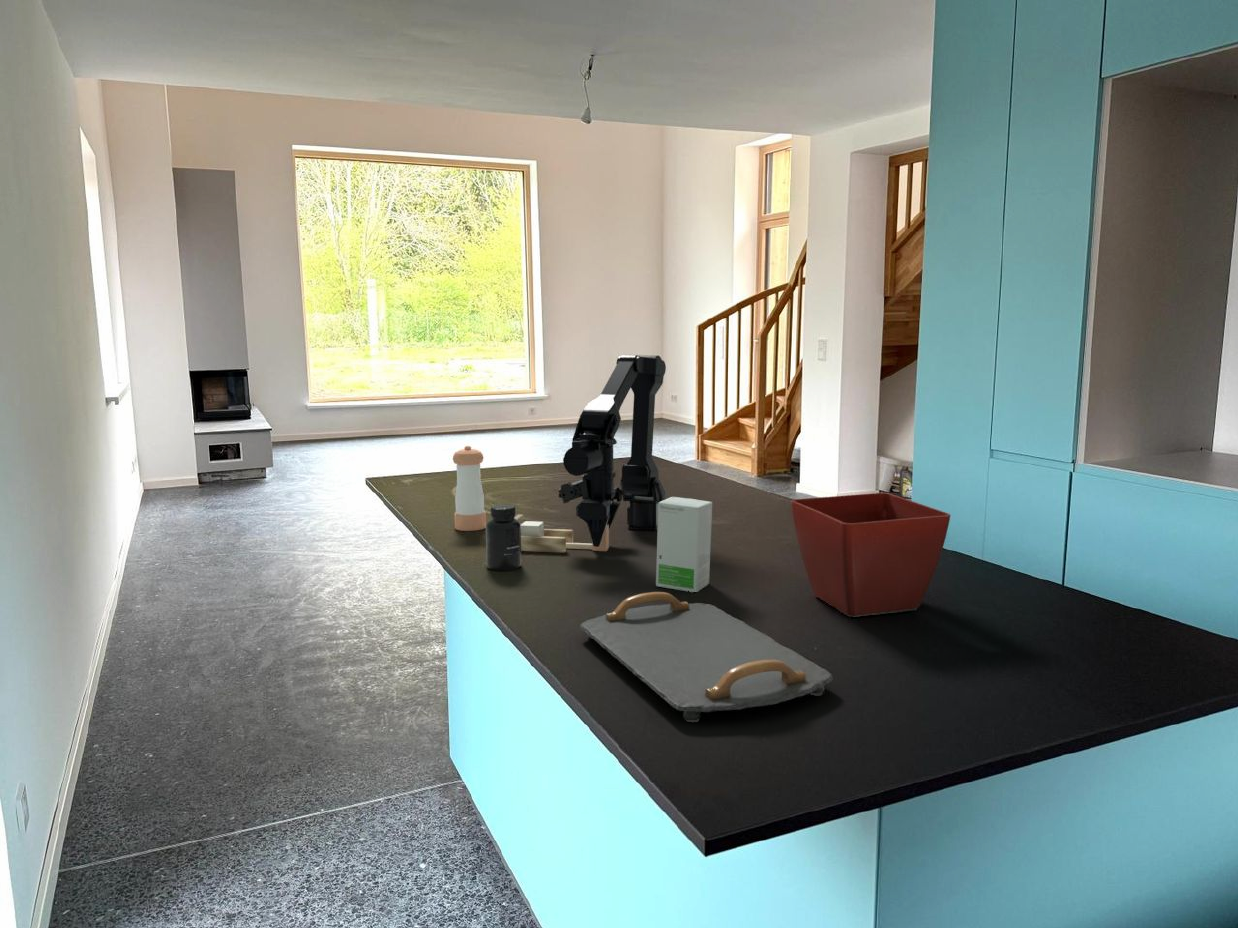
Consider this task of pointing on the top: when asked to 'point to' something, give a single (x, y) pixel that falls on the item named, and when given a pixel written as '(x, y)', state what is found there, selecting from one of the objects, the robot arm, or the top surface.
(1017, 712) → the top surface
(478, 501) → the pepper shaker
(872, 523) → the plant pot
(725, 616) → the serving board
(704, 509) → the skincare box
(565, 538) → the oak lane
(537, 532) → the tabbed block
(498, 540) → the supplement bottle
